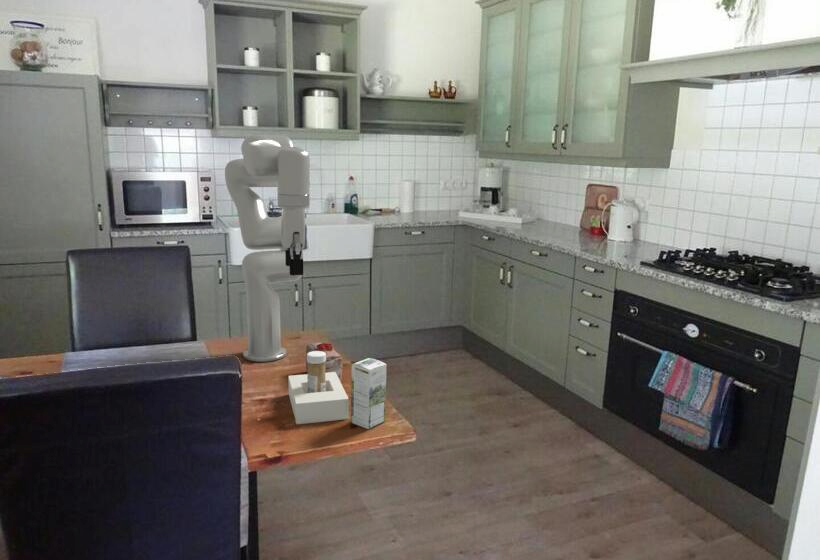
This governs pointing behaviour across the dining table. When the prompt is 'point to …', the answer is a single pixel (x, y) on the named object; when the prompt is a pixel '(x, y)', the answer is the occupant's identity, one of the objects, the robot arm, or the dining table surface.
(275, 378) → the dining table surface
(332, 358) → the food item
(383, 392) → the syrup box
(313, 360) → the sprinkles bottle
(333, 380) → the socket block
